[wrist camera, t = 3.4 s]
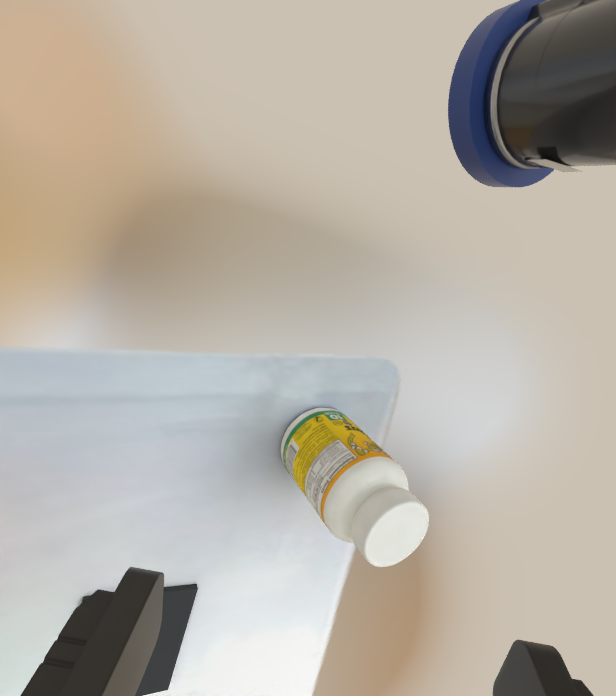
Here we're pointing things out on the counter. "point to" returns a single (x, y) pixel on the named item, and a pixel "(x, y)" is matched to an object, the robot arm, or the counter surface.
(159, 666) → the mat
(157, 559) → the counter surface
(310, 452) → the supplement bottle
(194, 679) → the counter surface
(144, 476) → the counter surface
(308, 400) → the counter surface
